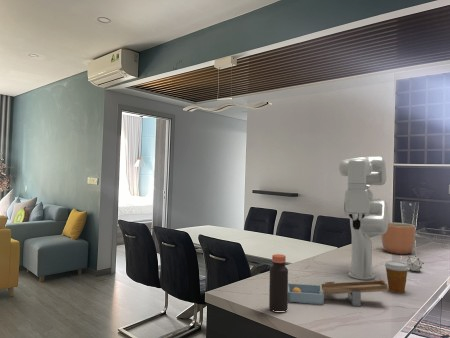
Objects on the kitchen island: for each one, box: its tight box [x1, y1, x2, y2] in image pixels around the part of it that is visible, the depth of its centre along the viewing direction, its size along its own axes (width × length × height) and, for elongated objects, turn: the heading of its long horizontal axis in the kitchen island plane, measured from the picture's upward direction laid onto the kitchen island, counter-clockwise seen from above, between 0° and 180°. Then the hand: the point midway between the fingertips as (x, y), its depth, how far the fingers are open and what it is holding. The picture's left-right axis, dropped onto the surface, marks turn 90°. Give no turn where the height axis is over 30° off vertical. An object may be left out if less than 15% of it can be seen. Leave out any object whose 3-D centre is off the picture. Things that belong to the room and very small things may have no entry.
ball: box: [292, 287, 301, 293], centre depth 140 cm, size 4×4×4 cm
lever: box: [320, 277, 389, 295], centre depth 139 cm, size 13×24×4 cm, turn 82°
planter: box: [380, 221, 416, 255], centre depth 231 cm, size 21×21×19 cm
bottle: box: [268, 253, 289, 312], centre depth 127 cm, size 7×7×20 cm
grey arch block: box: [347, 291, 362, 307], centre depth 136 cm, size 9×3×6 cm, turn 172°
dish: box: [288, 282, 325, 306], centre depth 139 cm, size 12×14×4 cm
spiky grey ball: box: [406, 255, 425, 273], centre depth 183 cm, size 9×8×10 cm
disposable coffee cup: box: [384, 260, 410, 294], centre depth 151 cm, size 10×10×12 cm
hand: (356, 229), depth 150 cm, fingers closed
